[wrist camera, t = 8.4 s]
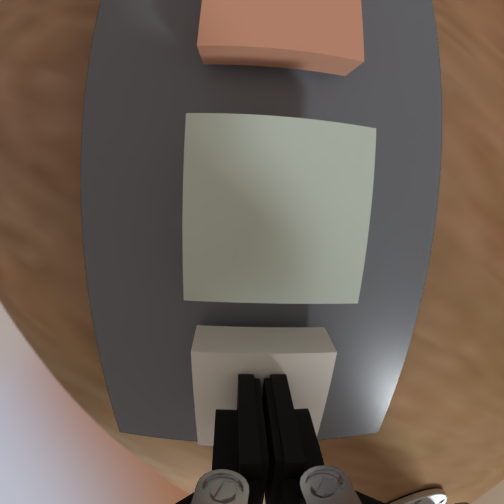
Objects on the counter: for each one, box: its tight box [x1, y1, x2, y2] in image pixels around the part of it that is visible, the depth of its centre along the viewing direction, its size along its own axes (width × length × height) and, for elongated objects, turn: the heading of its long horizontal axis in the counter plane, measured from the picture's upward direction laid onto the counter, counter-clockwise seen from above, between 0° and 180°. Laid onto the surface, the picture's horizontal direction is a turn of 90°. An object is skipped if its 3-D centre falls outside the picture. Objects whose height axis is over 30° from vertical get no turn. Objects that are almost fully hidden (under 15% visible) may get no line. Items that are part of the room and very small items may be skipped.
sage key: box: [182, 113, 376, 304], centre depth 9 cm, size 5×5×2 cm
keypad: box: [81, 0, 442, 441], centre depth 12 cm, size 24×14×3 cm, turn 177°
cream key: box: [191, 325, 337, 446], centre depth 11 cm, size 5×5×2 cm
